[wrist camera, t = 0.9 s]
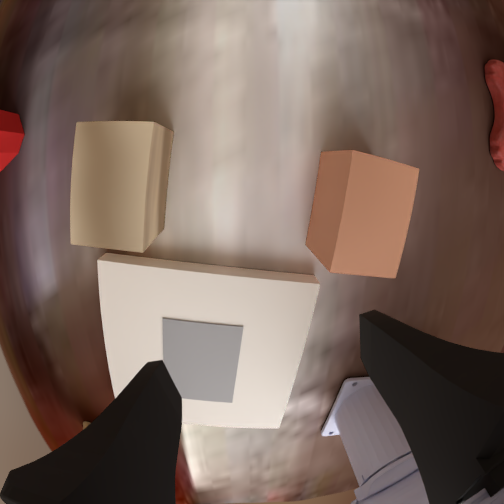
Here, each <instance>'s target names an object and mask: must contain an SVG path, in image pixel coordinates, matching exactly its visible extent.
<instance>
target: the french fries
mask: <svg viewBox="0 0 504 504" xmlns="http://www.w3.org/2000/svg"><path fill="white" fill-rule="evenodd" d="M23 137H24V131H23V128H22V124H21V121H20V117H19V114H15V113H11V112H7V111H4V110H0V172H1V171H2V170H3V169H4V168H5V167H6V165H7V164H8V163H9V162H10V161H11V160H12V159H13V158H14V157H15V156H16V155H17V154H18V153H19V150H20V147H21V143H22V140H23Z"/></svg>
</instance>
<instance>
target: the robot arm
mask: <svg viewBox="0 0 504 504" xmlns="http://www.w3.org/2000/svg"><path fill="white" fill-rule="evenodd" d="M359 318H360V349H361V359H362V362H363V364H364V366H365V368H366V371H367V373H368V375H369V377H358V378H348V379H346V380H345V381H344V382H343V384H342V387H341V389H340V391H339V394H338V396H337V398H336V401H335V403H334V405H333V407H332V409H331V412H330V414H329V416H328V418H327V420H326V422H325V424H324V426H323V428H322V431H321V434H322V436H331V435H340V436H341V439H342V442H343V444H344V447H345V449H346V452H347V455H348V457H349V460H350V463H351V465H352V468H353V470H354V473H355V476H356V478H357V481H358V484H359V486H360V487H359V488H357V489H355V490H354V492H355V495H356V498H357V499H356V500H354V501H352V502H351V504H504V353H497V352H490V351H484V350H478V349H473V348H469V347H465V346H462V345H458V344H454V343H451V342H448V341H445V340H442V339H439V338H437V337H434V336H431V335H429V334H426V333H424V332H422V331H419V330H417V329H415V328H413V327H410V326H408V325H406V324H404V323H402V322H400V321H398V320H396V319H393V318H391V317H389V316H387V315H385V314H383V313H381V312H379V311H376V310H372V311H369V312H366V313H363V314H360V315H359ZM354 382H355V383H354ZM181 425H182V397H181V395H180V393H179V391H178V390H177V388H176V386H175V384H174V382H173V380H172V378H171V376H170V374H169V372H168V370H167V368H166V366H165V364H164V362H163V360H158V361H151V362H147V363H146V364H145V365H144V366H143V367H142V368H141V370H140V371H139V372H138V373H137V374H136V375H135V376H134V378H133V379H132V380H131V381H130V382H129V383H128V385H127V386H126V387H125V388H124V389H123V390H122V392H121V393H120V394H119V395H118V396H117V397H116V398H115V399H114V400H113V402H112V403H111V404H110V405H109V406H108V407H107V408H106V409H105V410H104V411H103V412H102V413H101V414H100V415H99V416H98V417H97V418H96V419H95V420H94V421H93V422H92V423H91V424H89V425H88V426H87V427H86V428H85V429H84V430H82V431H81V432H80V433H79V434H77V435H76V436H75V437H73V438H72V439H71V440H69V441H68V442H66V443H65V444H63V445H62V446H61V447H59V448H58V449H56V450H54V451H53V452H51V453H49V454H47V455H46V456H44V457H42V458H40V459H38V460H36V461H34V462H32V463H29V464H26V465H24V466H21V467H19V468H16V469H14V470H11V471H10V472H9V474H8V477H7V479H6V481H5V483H4V486H3V488H2V490H1V493H0V497H1V499H2V500H3V501H4V502H5V503H6V504H176V503H175V470H176V462H177V455H178V447H179V440H180V433H181Z"/></svg>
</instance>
